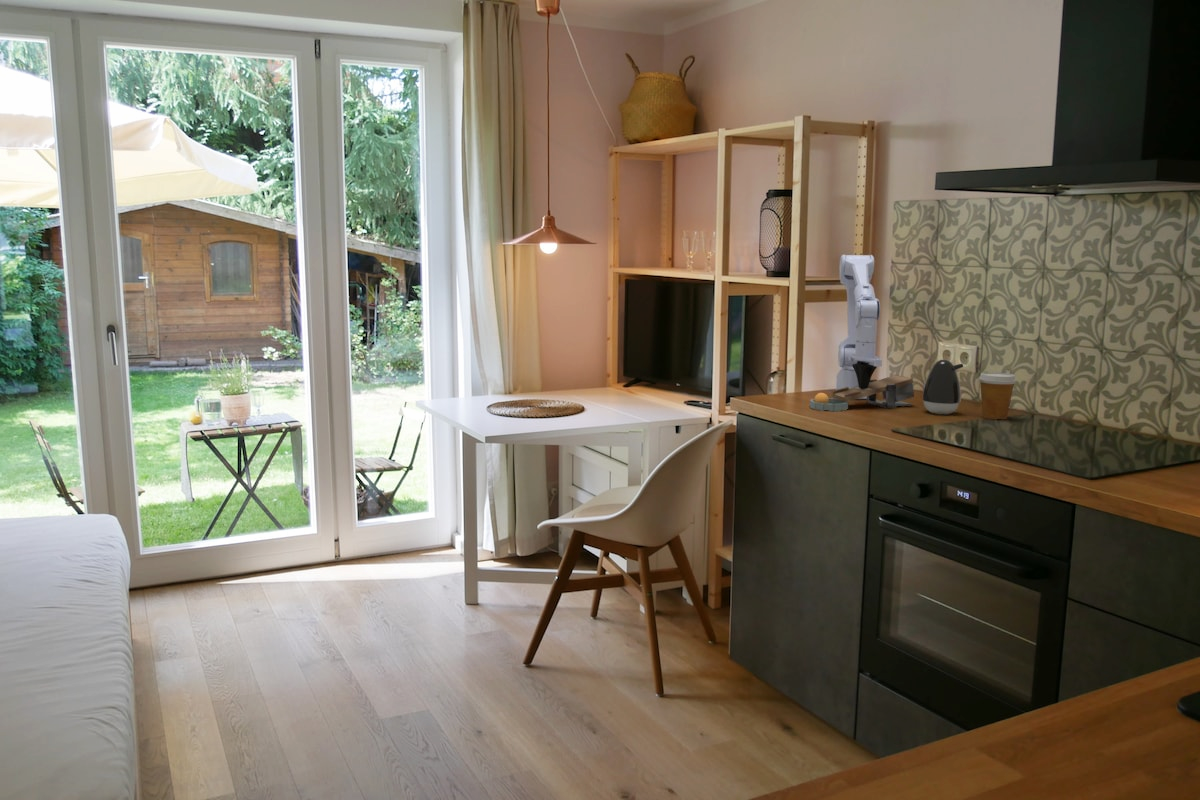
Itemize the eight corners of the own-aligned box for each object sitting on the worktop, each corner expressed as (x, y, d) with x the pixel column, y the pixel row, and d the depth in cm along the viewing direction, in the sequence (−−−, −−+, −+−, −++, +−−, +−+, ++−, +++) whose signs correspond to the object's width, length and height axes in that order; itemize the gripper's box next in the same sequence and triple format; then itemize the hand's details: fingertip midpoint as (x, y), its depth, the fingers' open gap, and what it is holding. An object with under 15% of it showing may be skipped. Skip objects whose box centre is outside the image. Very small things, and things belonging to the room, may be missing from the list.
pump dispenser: (953, 417, 269) (957, 362, 267) (916, 413, 275) (919, 359, 273) (965, 412, 277) (969, 359, 275) (928, 408, 283) (932, 356, 281)
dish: (803, 405, 286) (803, 398, 286) (835, 404, 289) (836, 397, 289) (821, 411, 276) (821, 404, 276) (854, 410, 279) (855, 403, 279)
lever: (899, 392, 293) (896, 372, 292) (915, 397, 286) (912, 375, 284) (835, 412, 288) (831, 391, 287) (849, 416, 281) (846, 395, 279)
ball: (811, 392, 283) (824, 391, 284) (812, 406, 283) (824, 404, 284) (818, 394, 279) (831, 393, 280) (818, 408, 280) (831, 406, 281)
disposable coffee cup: (1020, 420, 266) (1024, 376, 264) (990, 421, 264) (993, 377, 262) (998, 413, 275) (1001, 371, 273) (968, 415, 273) (971, 372, 271)
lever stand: (893, 401, 295) (894, 378, 294) (915, 407, 285) (916, 383, 283) (866, 402, 293) (867, 379, 291) (887, 408, 282) (888, 384, 281)
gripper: (892, 343, 277) (889, 391, 279) (864, 339, 291) (862, 384, 293) (870, 344, 275) (867, 392, 277) (843, 339, 289) (841, 385, 291)
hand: (863, 388), depth 285 cm, fingers closed, pressing on lever
